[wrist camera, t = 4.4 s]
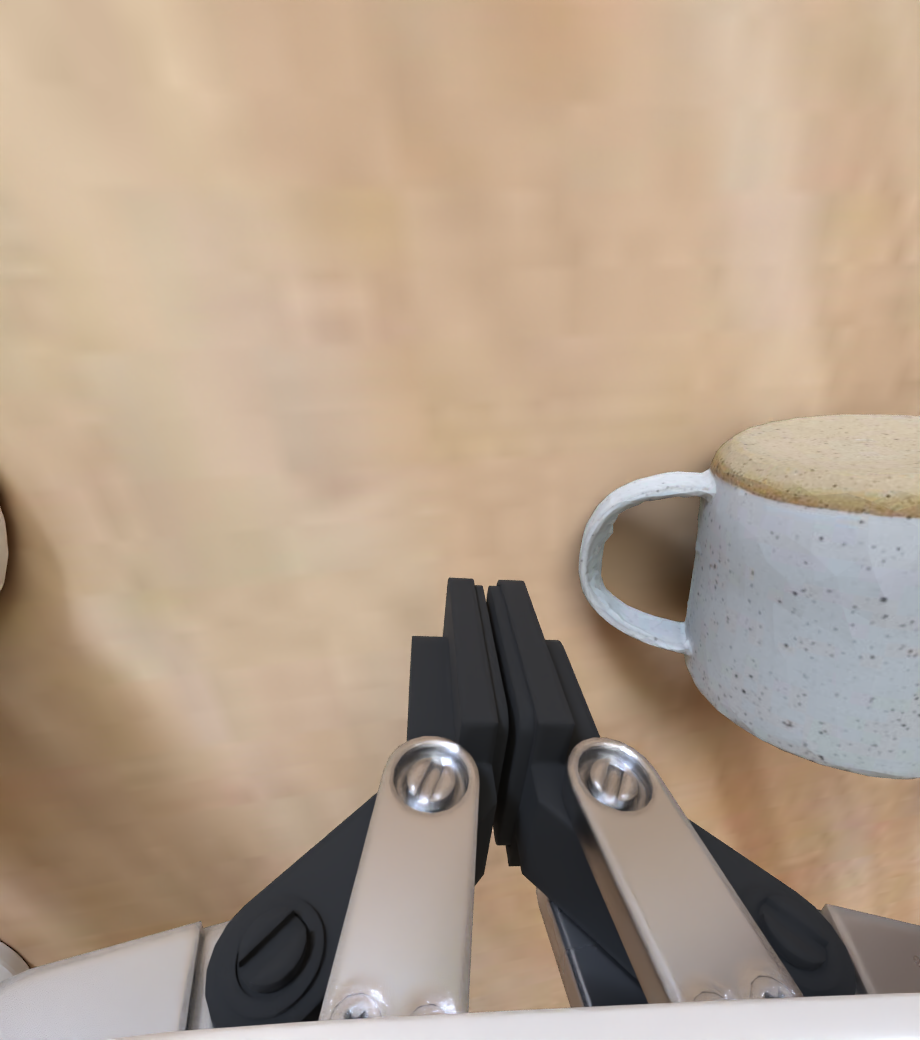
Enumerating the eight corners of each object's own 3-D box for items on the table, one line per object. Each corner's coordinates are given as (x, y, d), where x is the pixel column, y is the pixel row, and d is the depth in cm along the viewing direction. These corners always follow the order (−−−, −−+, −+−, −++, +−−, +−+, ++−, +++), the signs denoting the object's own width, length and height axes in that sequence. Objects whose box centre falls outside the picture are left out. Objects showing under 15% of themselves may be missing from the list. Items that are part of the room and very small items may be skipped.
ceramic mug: (881, 388, 15) (1258, 457, 8) (836, 595, 19) (1077, 766, 12) (561, 443, 15) (671, 557, 8) (574, 639, 19) (660, 834, 12)
